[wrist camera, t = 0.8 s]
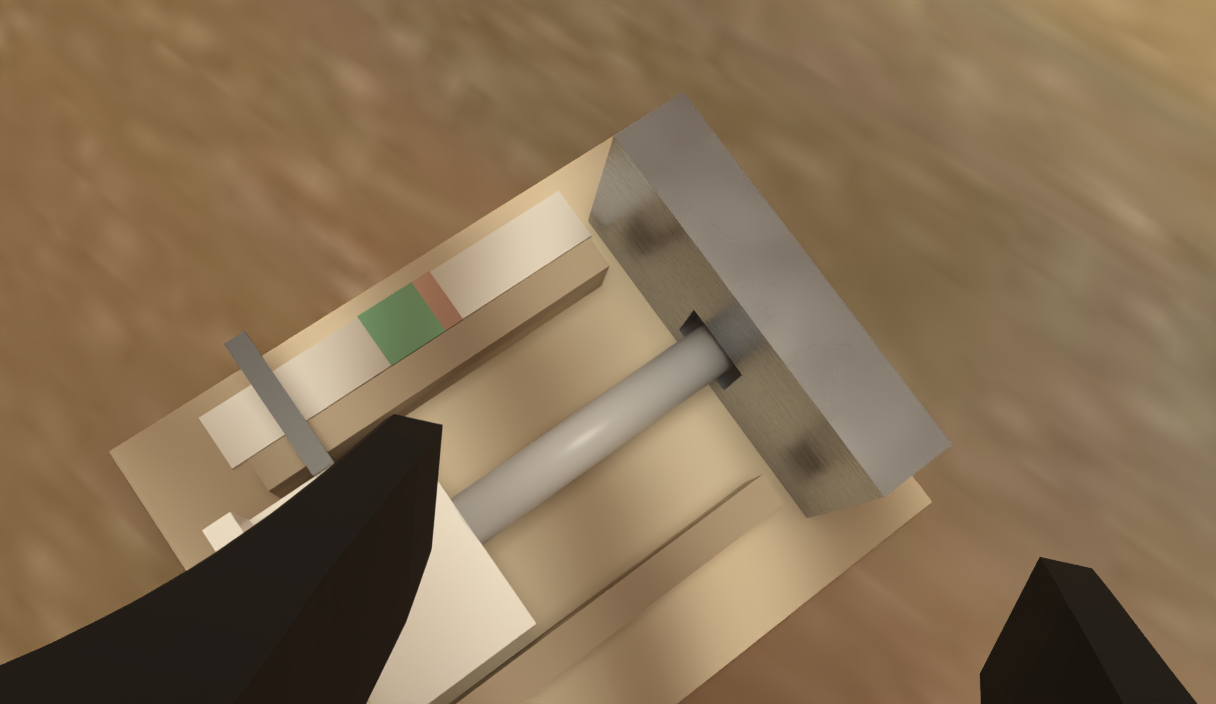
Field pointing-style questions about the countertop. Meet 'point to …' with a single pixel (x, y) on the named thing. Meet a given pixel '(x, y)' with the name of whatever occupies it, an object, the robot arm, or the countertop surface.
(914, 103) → the countertop surface
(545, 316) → the linear slide rail
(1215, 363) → the countertop surface
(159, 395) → the countertop surface
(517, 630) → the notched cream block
